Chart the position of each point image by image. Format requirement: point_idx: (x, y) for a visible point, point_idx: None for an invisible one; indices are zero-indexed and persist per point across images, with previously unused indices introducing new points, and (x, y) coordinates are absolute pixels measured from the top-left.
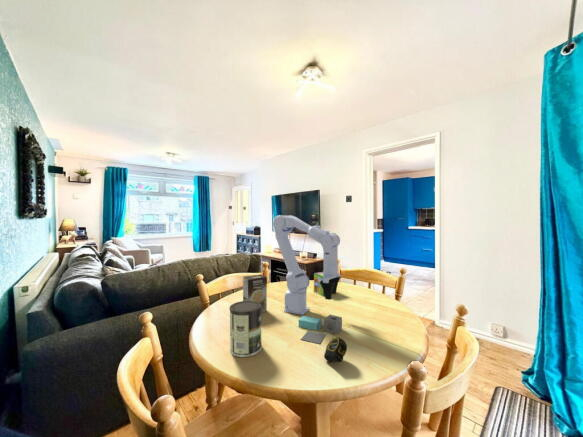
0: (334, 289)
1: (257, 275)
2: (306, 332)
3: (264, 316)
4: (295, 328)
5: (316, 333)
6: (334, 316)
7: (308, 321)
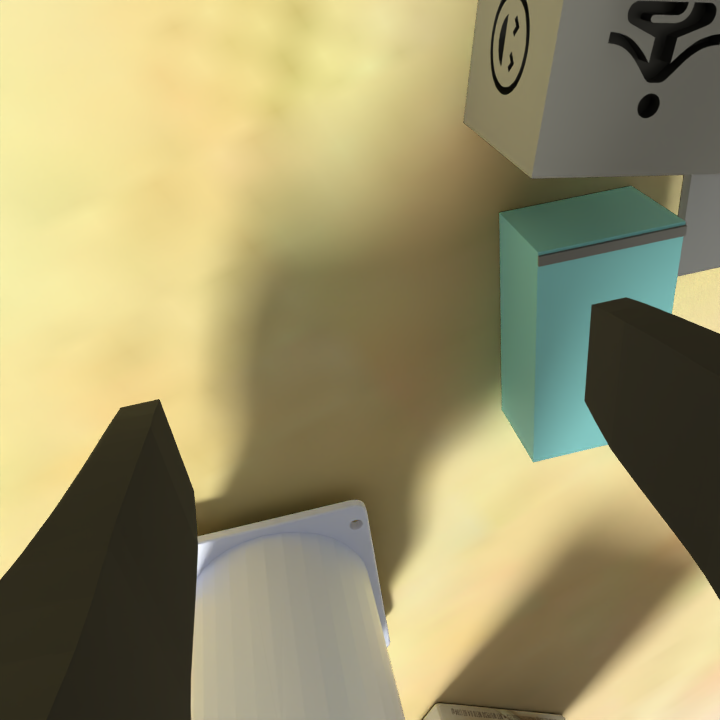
0: (153, 501)
1: None
2: (717, 266)
3: (515, 664)
4: None
5: None
6: (584, 71)
7: None
